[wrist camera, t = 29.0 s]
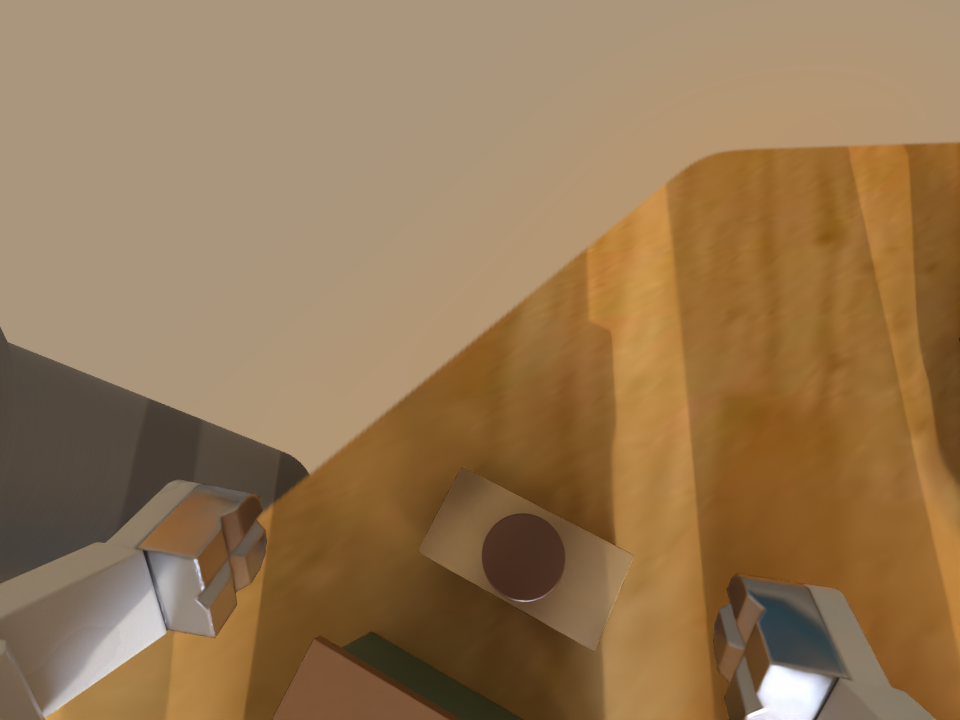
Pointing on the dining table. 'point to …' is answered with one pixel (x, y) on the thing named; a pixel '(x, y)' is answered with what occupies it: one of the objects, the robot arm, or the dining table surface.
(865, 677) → the robot arm
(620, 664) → the dining table surface
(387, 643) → the cabinet
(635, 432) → the dining table surface
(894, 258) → the dining table surface
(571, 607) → the brush
